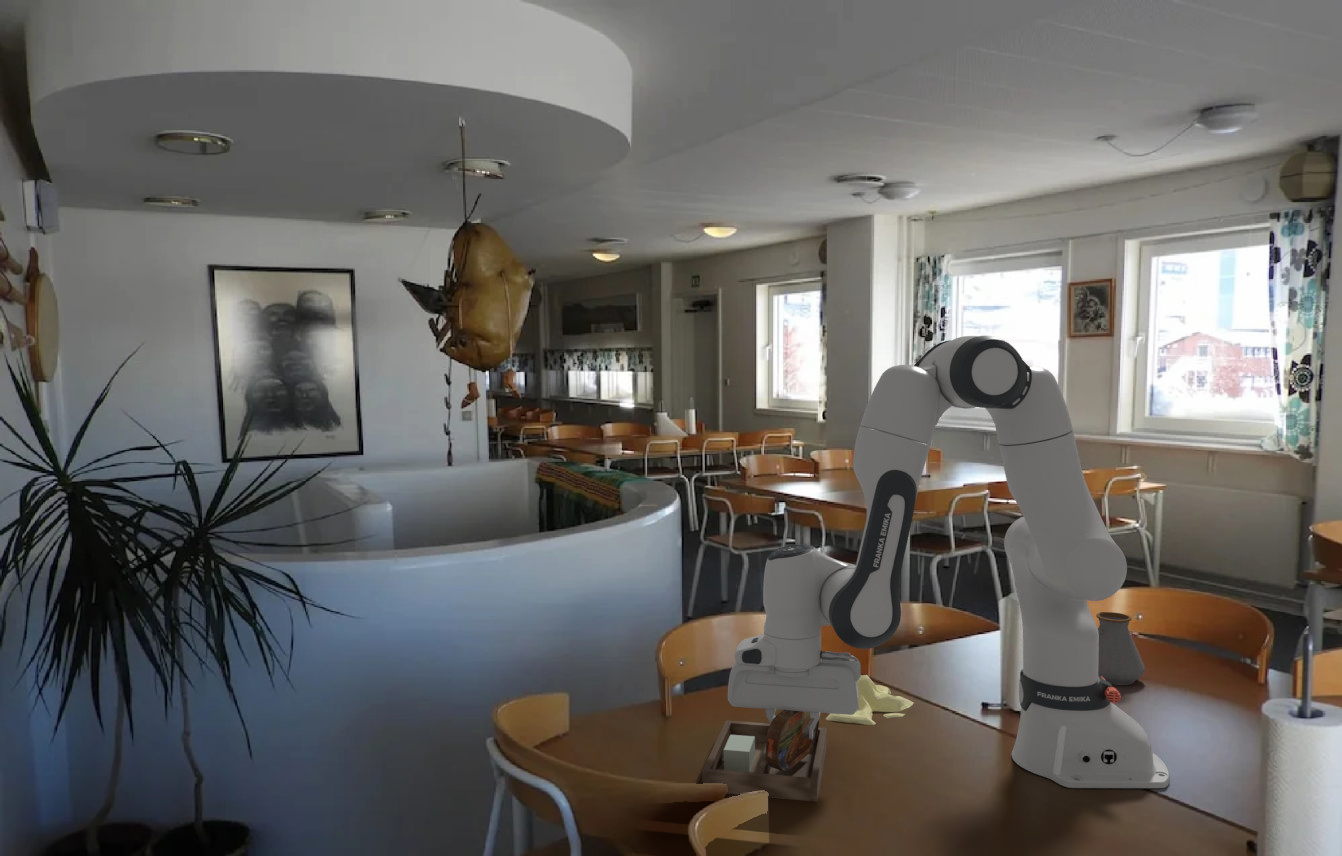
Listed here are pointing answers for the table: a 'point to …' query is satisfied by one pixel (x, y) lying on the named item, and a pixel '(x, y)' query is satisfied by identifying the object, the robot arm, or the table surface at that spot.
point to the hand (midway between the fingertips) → (793, 736)
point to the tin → (788, 739)
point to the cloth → (873, 703)
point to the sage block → (739, 753)
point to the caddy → (767, 766)
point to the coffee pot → (1117, 650)
